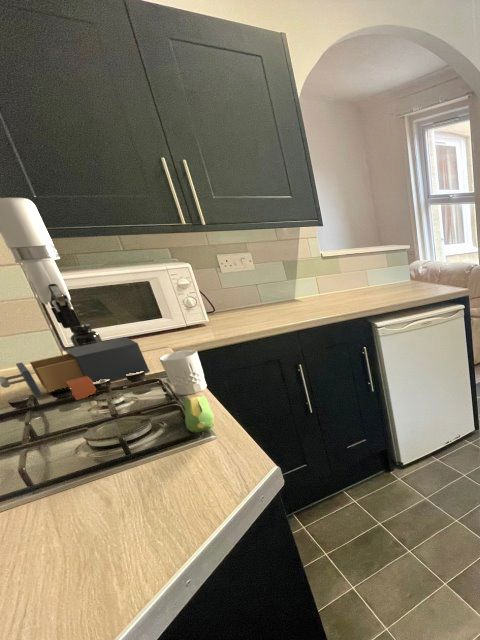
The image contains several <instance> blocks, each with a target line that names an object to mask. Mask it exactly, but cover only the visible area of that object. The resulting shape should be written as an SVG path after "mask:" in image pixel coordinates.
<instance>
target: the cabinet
mask: <svg viewBox="0 0 480 640" xmlns="http://www.w3.org/2000/svg"><path fill="white" fill-rule="evenodd" d="M65 352H66V354H70V355H71V356H73V357H74V358H75V359H76V361H77V363H78V365H79V367H80V369H81V371H82V373H83V375H84V377H85V376H88V377H89V378H90V379H91V380H92V382H96V381H99V380H100V379H110V381H111V382H116V381H120V380H123V379H127V378H126V374H129V373H136V372H140V371H144V372H145V373H144V374H146V373H149V372H150V369H149V367H148V364H147V362H146V360H145V357H144V355H143V353H142V350H141V348H140V346H139V343H138V342H137V341H135V340H132V339H130V338H128V337H126V336H122V337H117V338H113V339H107V340H104V341H103V340H102V342H98V343H93V344H88V345H84V346H79V347H74V346H73V347H71V348H66V349H65ZM111 382H110V383H111Z"/></svg>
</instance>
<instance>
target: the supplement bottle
mask: <svg viewBox="0 0 480 640" xmlns="http://www.w3.org/2000/svg"><path fill="white" fill-rule="evenodd" d="M69 330H70V333H72V335H71V336H70V341H71V343H72V345H73V348H74V347H79V346H84V345H88V344H93V343H98V342H103V340H102V337H101V335H100V333H99V332H97V331H95V330H93V328H92V326H91V324H90V323H89V322H87V323H81V326H77V327H71V328H69Z"/></svg>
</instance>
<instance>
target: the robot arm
mask: <svg viewBox="0 0 480 640" xmlns="http://www.w3.org/2000/svg"><path fill="white" fill-rule="evenodd" d="M0 235H1V237H2V239H3V241H4V243H5V245H6V247H7V250H8V251H9V254H10V255H11V257H12V259H13V261H14V262H15V264H22V266H23V268H24V270H25V273H26V275H27V276H28V279H29V281H30V283H31V284H32V286H33V287H32V288H34V291H35V293H36V295H37V296H38V299H39V301H40V303H42V304H44V305H49V306H50V309H51V311H52V314H53V316H54V317H55V320H56V321H57V323H58V324H61V326H62V328H63V329H70V328H71V327H77V326H81V324H82V323H81V321H80V319H79V316H78V314H77V313H76V310H75V309H74V308H73V306H72V305H71V303H70V301H71V300H72V298H71V295H70V293H69V289H68V288H67V285H66V283H65V281H64V278H63V276H62V274H61V272H60V270H59V268H58V266H57V263H56V261H57V260H61V256H60V255H59V253H58V251H57V249H56V247H55V245H54V242H53V240H52V238H51V236H50V234H49V232H48V229H47V227H46V225H45V223H44V221H43V218H42V217H41V215H40V213H39V210H38V208H37V206H36V205H35V203H34V201H32V200H31V199H29V198H25V197H0ZM55 260H56V261H55Z"/></svg>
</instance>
